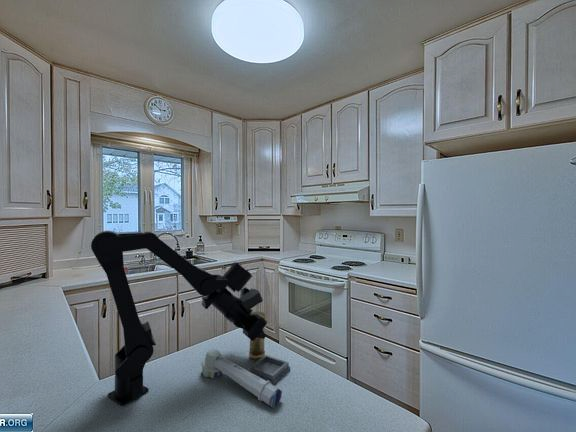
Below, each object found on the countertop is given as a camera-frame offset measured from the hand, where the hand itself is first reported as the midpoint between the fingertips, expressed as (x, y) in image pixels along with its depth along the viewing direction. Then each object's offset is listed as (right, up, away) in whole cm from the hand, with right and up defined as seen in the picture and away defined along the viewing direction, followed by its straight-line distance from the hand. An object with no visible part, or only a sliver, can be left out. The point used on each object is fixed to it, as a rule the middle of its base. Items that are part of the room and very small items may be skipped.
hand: (261, 334), depth 85 cm
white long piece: (-5, -7, -15) cm, 17 cm away
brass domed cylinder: (-1, -7, -1) cm, 7 cm away
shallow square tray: (+3, -7, -9) cm, 12 cm away
